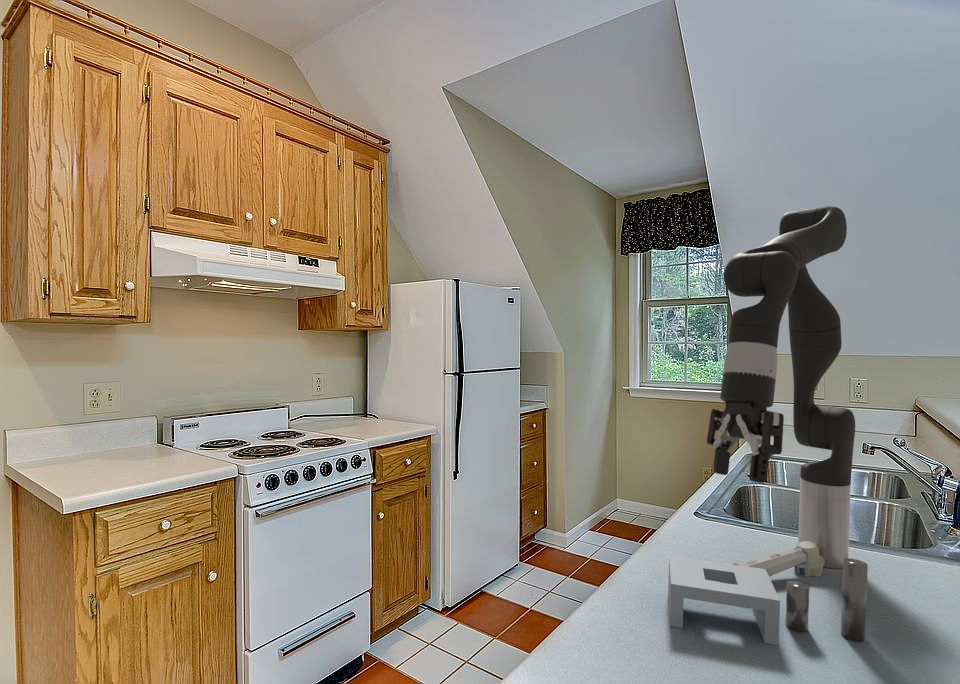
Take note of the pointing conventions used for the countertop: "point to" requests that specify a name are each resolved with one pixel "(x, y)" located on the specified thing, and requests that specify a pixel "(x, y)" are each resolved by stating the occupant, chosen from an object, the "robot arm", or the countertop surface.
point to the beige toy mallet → (791, 561)
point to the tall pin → (854, 600)
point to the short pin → (797, 606)
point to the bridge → (724, 591)
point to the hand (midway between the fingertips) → (737, 477)
